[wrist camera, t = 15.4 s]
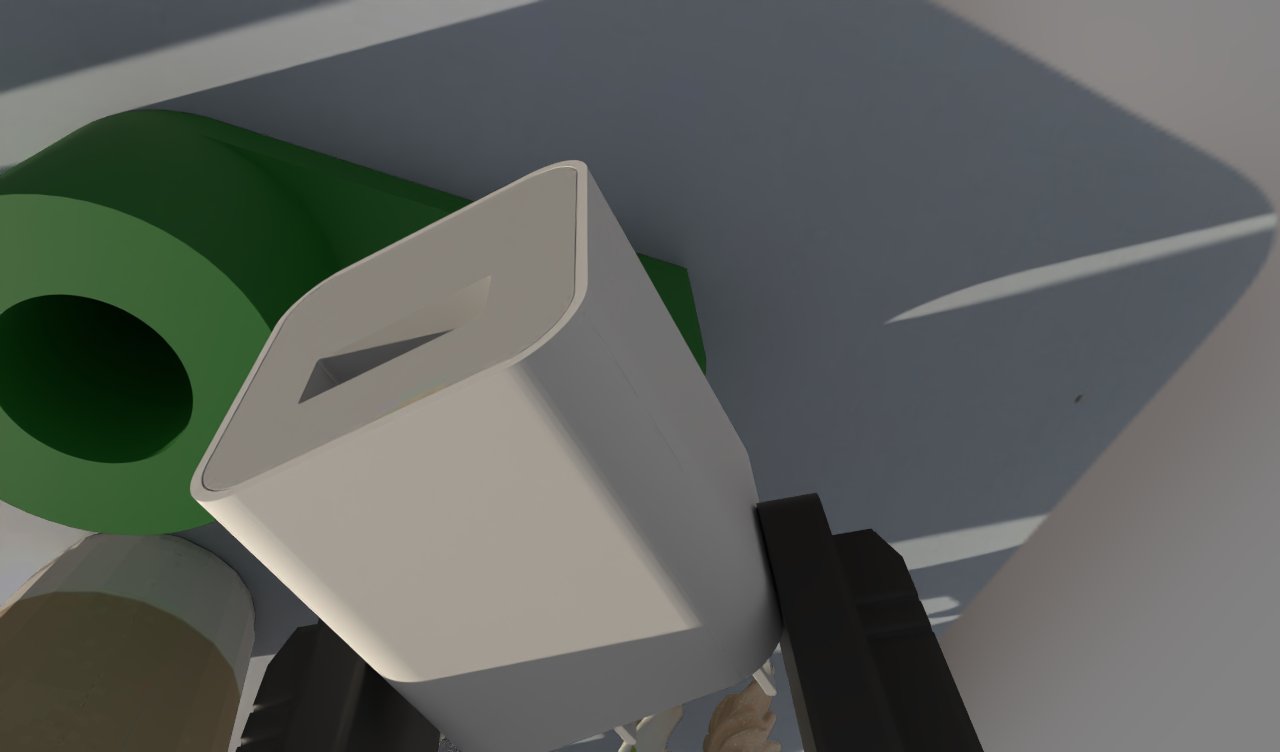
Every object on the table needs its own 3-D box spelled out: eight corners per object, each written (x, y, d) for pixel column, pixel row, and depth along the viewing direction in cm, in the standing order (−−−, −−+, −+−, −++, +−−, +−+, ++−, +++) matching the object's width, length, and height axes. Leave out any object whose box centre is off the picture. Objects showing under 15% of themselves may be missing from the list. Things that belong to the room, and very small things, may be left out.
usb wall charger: (587, 144, 10) (588, 330, 7) (808, 543, 14) (879, 794, 10) (292, 294, 11) (164, 527, 8) (573, 634, 15) (568, 892, 11)
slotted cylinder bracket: (22, 353, 28) (-121, 485, 22) (29, 61, 23) (-145, 133, 18) (591, 497, 31) (591, 640, 26) (686, 268, 27) (711, 381, 22)
